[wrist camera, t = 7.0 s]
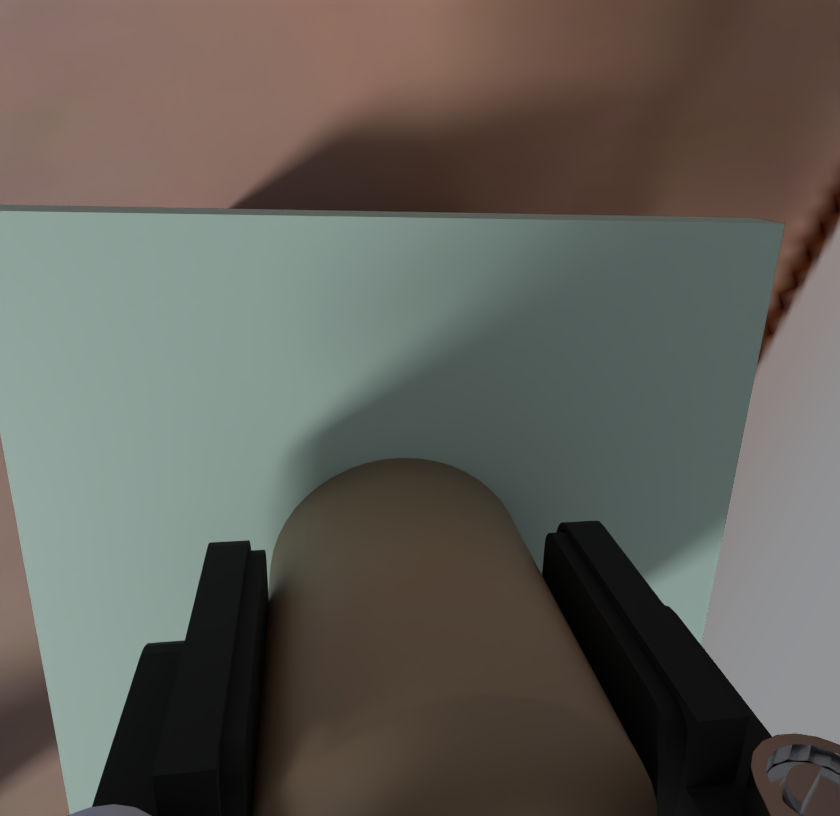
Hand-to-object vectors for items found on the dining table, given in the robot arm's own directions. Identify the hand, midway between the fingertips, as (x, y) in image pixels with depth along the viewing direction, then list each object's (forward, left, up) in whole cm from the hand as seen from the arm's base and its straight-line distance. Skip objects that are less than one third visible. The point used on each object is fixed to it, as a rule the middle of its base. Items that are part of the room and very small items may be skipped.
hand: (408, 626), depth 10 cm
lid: (0, 0, -2) cm, 2 cm away
